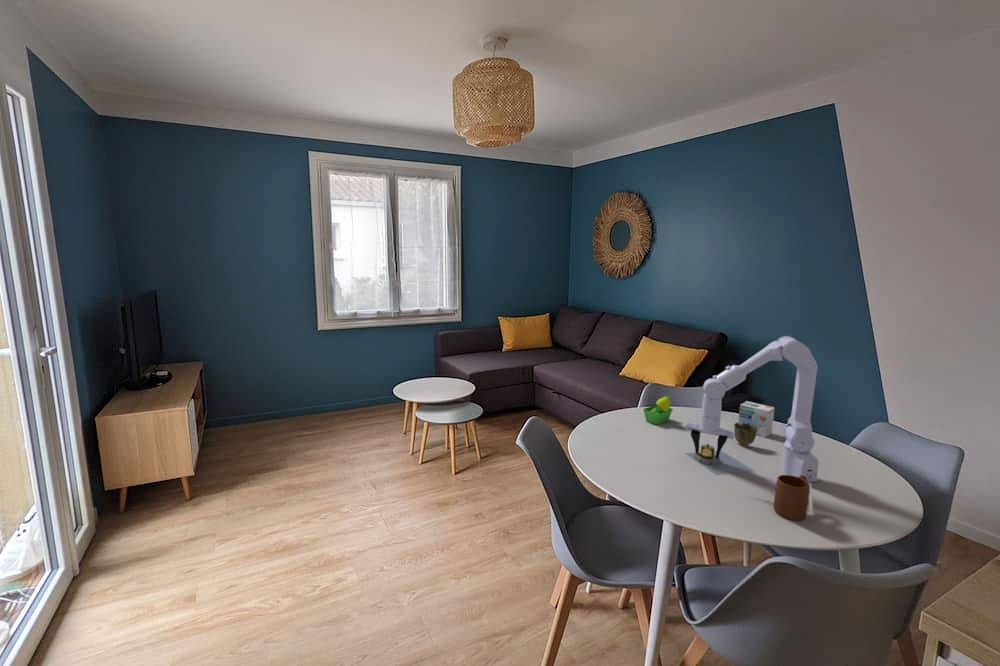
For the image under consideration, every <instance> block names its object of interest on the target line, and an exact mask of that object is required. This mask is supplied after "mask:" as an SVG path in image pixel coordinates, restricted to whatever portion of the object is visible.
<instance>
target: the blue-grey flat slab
mask: <svg viewBox="0 0 1000 666" xmlns="http://www.w3.org/2000/svg"><path fill="white" fill-rule="evenodd" d="M716 453H717V450H714V459H710V460H709V459H705V458H702V457H700V456H701V450H699V452H698V454H697V453H696V451H694V452H686V453H685V455H687V456H688V457H690V458H691V459H693V460H694V461H695V462H696V463H698V464H700V465H701V466H703V467H704V468H706V469H707V470H708V471H710V472H711V473H712V474H714V475H715V476H718V475H719V476H720V475H729V474H739V473H747V472H754V471H755V470H754V469H753V468H751V467H749V466H747V465H746V464H744V463H742V462H741V461H739V460H737V459H736V458H735V457H733V456H731V455H730V454H728V453H726V452H724V451H723V450H721V451H720V454H719V457H718V458H716Z"/></svg>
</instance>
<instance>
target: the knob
mask: <svg viewBox="0 0 1000 666" xmlns="http://www.w3.org/2000/svg"><path fill="white" fill-rule="evenodd" d="M700 451H701V456H700V457H702V458H705V459H709V460H710V459H714V451H715V447H714V446H713V445H710V444H709V443H706V444H702V445H701V447H700Z"/></svg>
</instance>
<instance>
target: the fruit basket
mask: <svg viewBox="0 0 1000 666" xmlns="http://www.w3.org/2000/svg"><path fill="white" fill-rule="evenodd" d="M671 403H672V402H671V397H670V396H663V397H662V398H659V399H658V400H657V401H656V403H655V405H651V406H648V407H645V408H643V409H642V412H643V413H644V418H645V421H646V422H648V421H649V423H651V424H654V423H655V425H659V424H661V423H664V422H667V421H669V419H670V417H671V415H672V412H673V410H674V408H671Z"/></svg>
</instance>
